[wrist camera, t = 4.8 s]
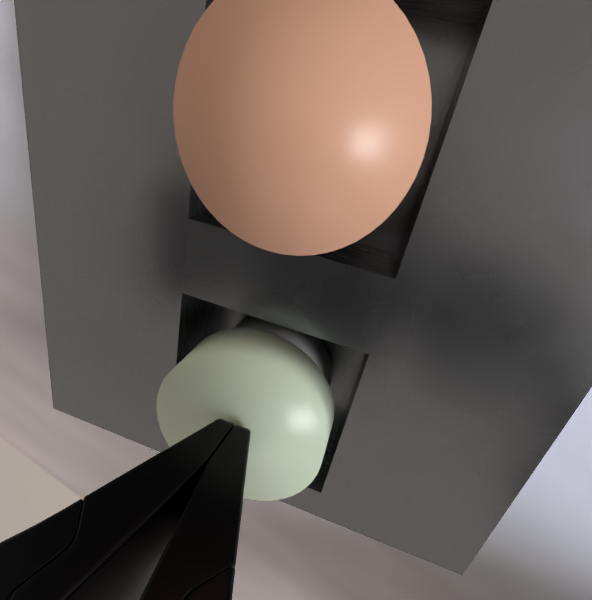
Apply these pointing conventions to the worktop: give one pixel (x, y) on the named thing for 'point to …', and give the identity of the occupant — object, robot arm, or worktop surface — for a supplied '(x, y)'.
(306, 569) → the worktop surface
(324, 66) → the button terracotta
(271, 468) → the button sage
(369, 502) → the console
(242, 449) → the robot arm
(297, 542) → the worktop surface
